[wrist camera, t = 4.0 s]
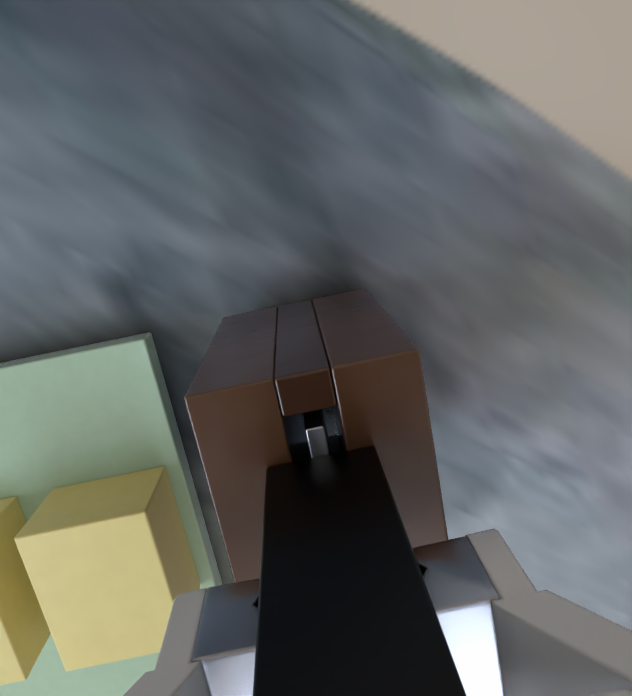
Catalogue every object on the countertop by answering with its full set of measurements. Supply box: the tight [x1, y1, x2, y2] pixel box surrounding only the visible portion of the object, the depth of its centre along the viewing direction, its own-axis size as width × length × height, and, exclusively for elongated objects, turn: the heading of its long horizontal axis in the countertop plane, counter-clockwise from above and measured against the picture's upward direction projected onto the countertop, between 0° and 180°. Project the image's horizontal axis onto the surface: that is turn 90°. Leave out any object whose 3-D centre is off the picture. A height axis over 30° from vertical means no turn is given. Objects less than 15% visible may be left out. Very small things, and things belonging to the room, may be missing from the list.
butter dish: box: [0, 333, 222, 696], centre depth 21 cm, size 14×10×1 cm
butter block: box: [15, 466, 200, 671], centre depth 19 cm, size 5×4×3 cm
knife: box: [253, 409, 467, 696], centre depth 13 cm, size 4×2×15 cm
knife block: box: [184, 289, 448, 583], centre depth 16 cm, size 6×5×8 cm
